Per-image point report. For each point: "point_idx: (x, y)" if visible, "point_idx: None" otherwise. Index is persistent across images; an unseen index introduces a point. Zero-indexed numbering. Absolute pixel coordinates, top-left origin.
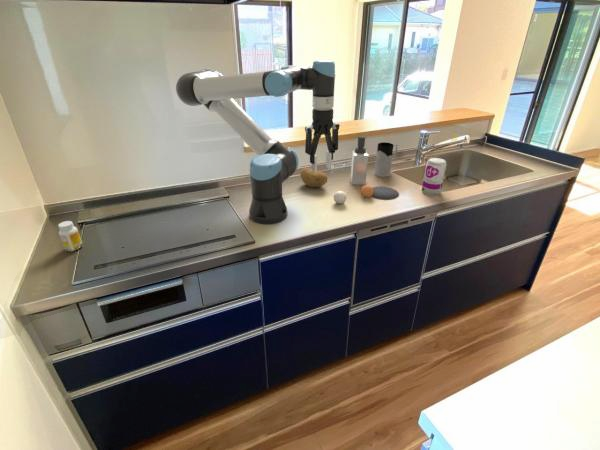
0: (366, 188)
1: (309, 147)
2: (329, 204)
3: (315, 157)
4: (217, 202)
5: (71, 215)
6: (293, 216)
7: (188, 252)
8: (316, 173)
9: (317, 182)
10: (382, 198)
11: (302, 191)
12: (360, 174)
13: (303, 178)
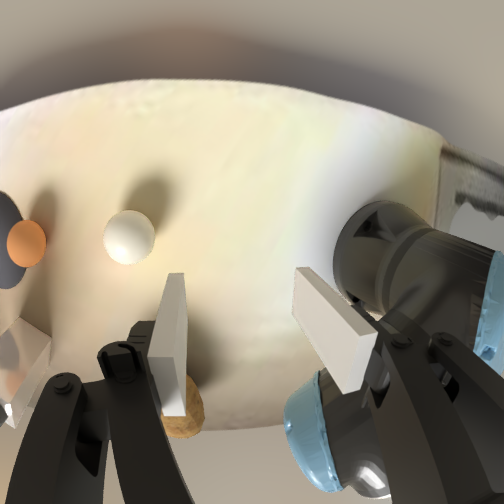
0: (24, 237)
1: (485, 373)
2: (173, 239)
3: (365, 323)
4: None
5: None
6: (329, 213)
7: (496, 191)
8: None
9: None
10: (7, 204)
11: (216, 360)
12: (17, 343)
13: (201, 403)
